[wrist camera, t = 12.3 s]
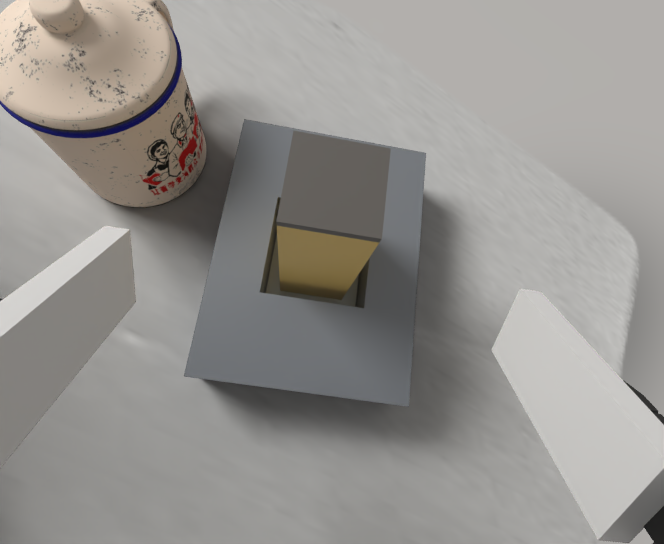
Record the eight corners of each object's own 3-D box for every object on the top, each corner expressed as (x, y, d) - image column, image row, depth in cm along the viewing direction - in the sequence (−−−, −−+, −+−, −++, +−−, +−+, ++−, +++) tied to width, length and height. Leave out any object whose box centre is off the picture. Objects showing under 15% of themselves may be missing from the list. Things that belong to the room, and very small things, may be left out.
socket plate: (200, 377, 24) (184, 376, 20) (249, 154, 28) (244, 119, 25) (389, 403, 25) (408, 406, 21) (407, 183, 29) (425, 153, 26)
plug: (280, 290, 25) (276, 221, 14) (290, 233, 26) (293, 130, 15) (341, 300, 25) (381, 238, 15) (348, 243, 26) (390, 148, 16)
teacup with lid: (184, 228, 26) (110, 114, 15) (52, 191, 26) (-121, 46, 15) (240, 91, 30) (214, -82, 19) (125, 57, 30) (30, -140, 18)
